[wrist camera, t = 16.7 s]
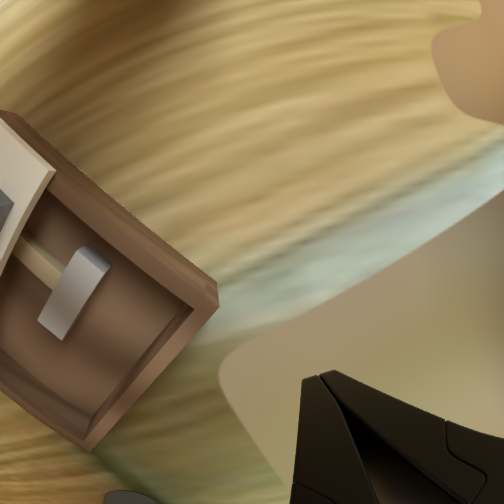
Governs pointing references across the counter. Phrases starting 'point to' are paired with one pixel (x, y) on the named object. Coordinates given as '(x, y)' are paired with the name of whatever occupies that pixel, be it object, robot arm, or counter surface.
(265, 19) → the counter surface
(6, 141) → the lid
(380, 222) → the counter surface
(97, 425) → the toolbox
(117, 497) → the bottle
